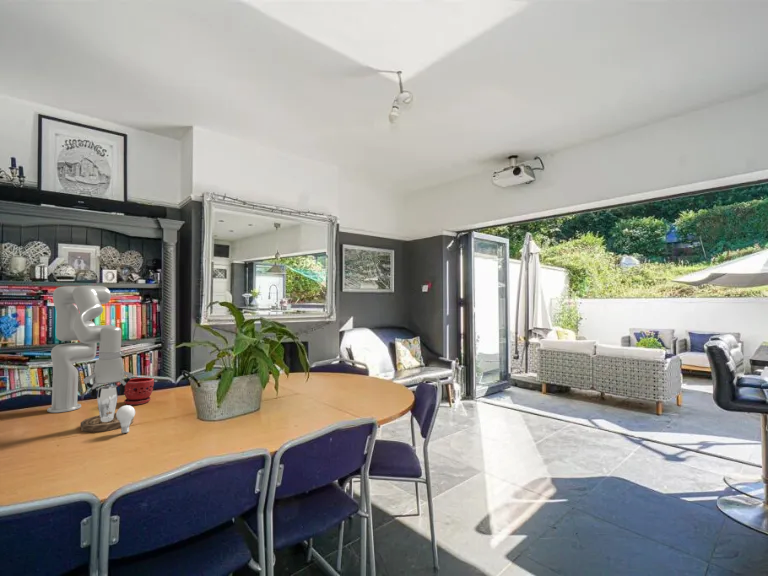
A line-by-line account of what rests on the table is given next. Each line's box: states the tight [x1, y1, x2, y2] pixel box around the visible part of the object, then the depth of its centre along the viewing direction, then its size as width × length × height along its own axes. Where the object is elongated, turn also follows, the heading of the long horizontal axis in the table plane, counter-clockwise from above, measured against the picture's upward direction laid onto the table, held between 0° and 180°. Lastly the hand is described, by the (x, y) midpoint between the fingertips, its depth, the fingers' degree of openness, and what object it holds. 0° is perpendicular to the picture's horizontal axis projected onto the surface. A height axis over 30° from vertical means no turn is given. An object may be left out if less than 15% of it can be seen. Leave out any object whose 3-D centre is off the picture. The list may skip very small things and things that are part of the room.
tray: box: [80, 412, 135, 433], centre depth 163 cm, size 18×18×3 cm
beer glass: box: [97, 385, 119, 424], centre depth 163 cm, size 7×7×15 cm
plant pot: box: [123, 377, 155, 406], centre depth 198 cm, size 13×13×12 cm
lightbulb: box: [115, 404, 136, 434], centre depth 153 cm, size 6×6×11 cm
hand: (108, 395), depth 163 cm, fingers open, 9 cm apart
